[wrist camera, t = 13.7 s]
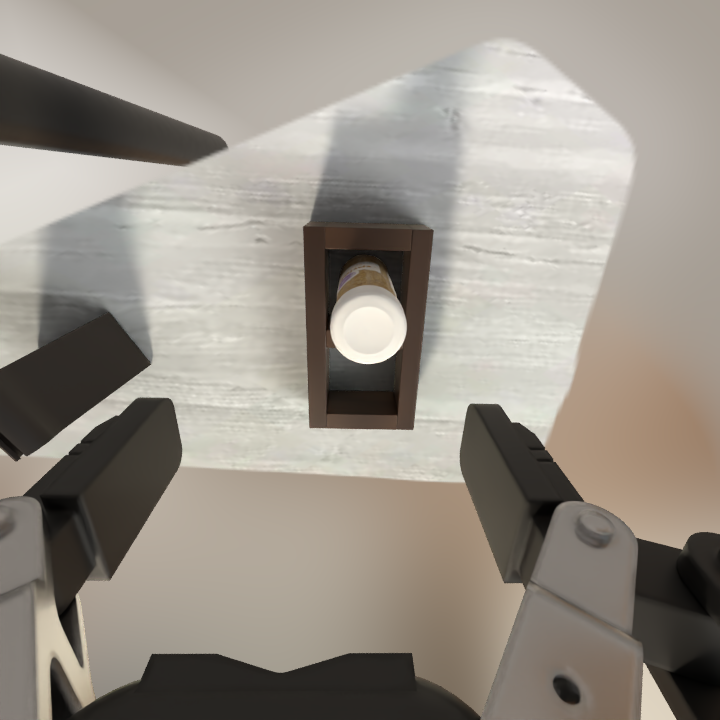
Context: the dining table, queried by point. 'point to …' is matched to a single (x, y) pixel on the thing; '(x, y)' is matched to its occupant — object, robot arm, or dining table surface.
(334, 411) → the holder
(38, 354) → the phone stand
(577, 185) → the dining table surface
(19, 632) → the robot arm
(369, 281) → the sprinkles bottle
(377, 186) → the dining table surface
